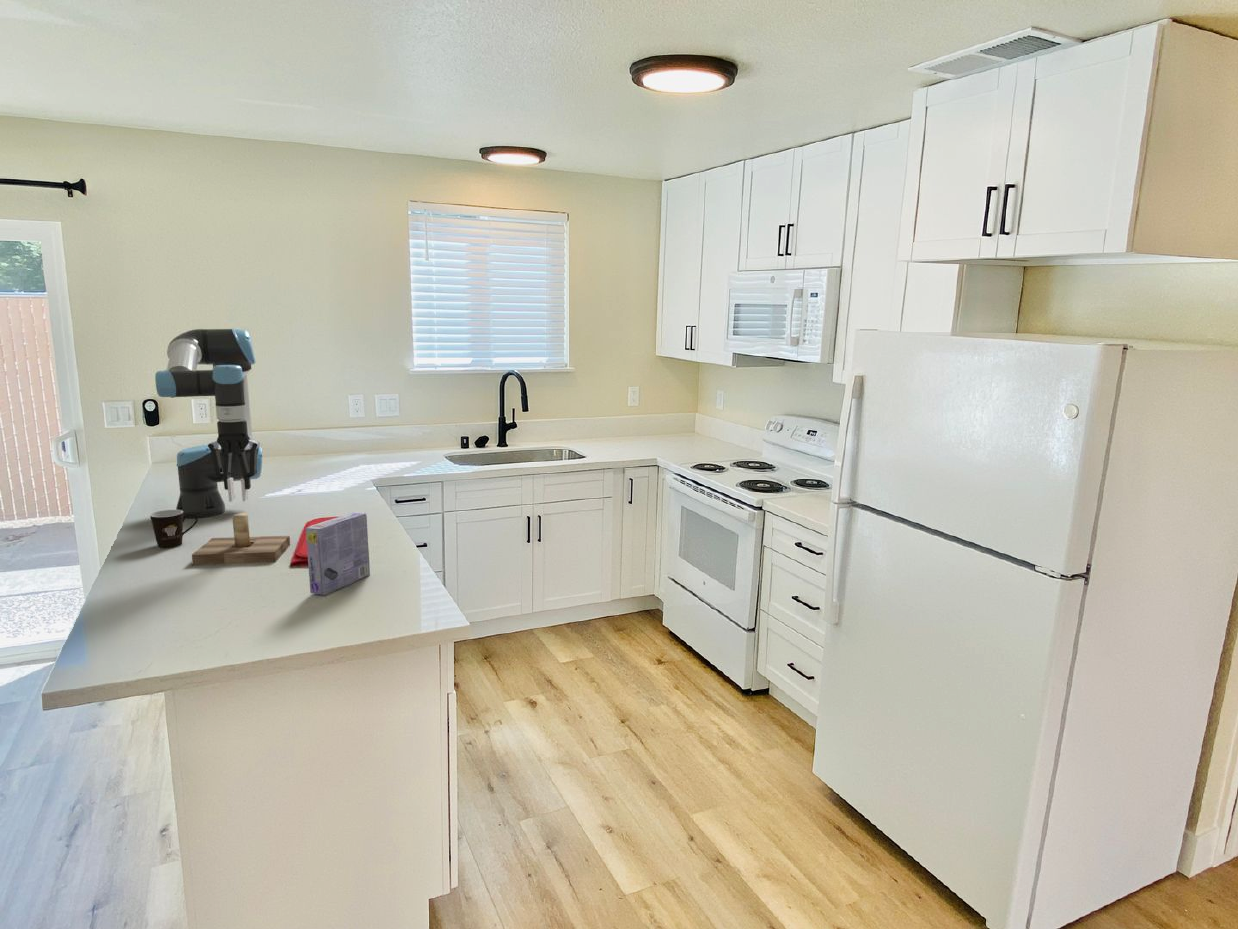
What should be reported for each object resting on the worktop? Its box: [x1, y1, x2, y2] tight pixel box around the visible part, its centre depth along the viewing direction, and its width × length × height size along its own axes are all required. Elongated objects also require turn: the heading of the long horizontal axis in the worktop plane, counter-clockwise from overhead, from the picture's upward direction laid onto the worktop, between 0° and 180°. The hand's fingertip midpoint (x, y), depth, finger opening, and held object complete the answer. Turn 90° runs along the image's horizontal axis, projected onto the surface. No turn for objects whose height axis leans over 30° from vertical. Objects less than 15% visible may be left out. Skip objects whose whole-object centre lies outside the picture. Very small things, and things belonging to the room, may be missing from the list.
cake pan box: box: [306, 512, 371, 597], centre depth 197 cm, size 19×5×18 cm, turn 159°
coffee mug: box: [149, 509, 198, 549], centre depth 227 cm, size 12×9×10 cm
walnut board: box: [191, 535, 291, 566], centre depth 220 cm, size 16×22×3 cm
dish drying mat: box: [290, 515, 344, 568], centre depth 231 cm, size 16×41×4 cm, turn 17°
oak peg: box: [231, 513, 251, 548], centre depth 219 cm, size 4×4×12 cm
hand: (238, 500), depth 217 cm, fingers open, 3 cm apart
